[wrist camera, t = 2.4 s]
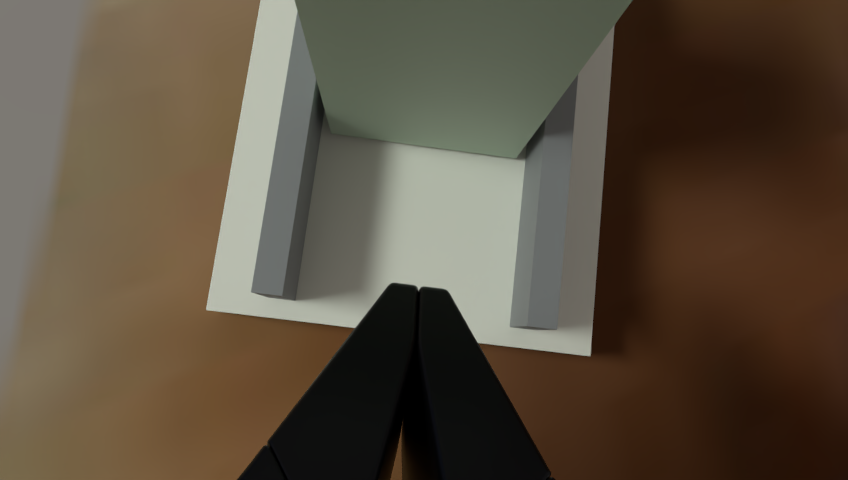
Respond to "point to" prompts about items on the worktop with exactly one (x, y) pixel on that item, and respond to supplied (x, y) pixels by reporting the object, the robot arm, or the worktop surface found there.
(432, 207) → the housing
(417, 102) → the block
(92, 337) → the worktop surface
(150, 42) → the worktop surface
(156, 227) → the worktop surface
